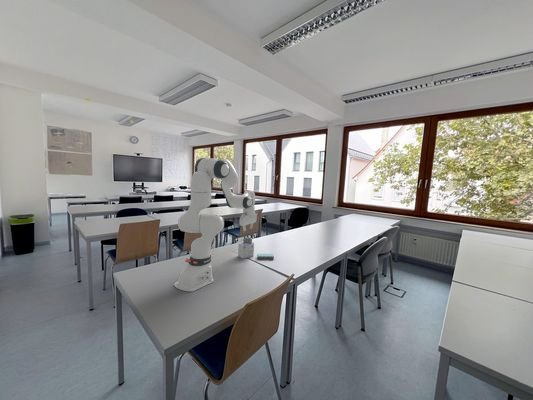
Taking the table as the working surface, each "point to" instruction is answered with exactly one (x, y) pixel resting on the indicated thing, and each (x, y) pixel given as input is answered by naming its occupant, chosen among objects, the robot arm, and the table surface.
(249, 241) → the dongle
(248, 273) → the table surface
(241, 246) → the light bulb box
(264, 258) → the eraser
